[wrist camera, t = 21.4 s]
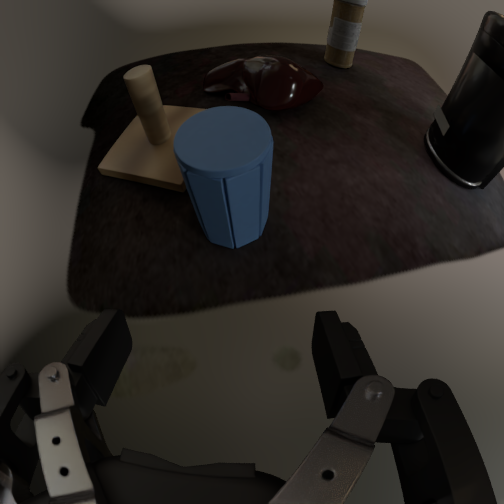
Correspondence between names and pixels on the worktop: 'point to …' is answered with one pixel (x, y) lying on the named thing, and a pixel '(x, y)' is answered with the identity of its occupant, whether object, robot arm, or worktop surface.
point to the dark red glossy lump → (264, 82)
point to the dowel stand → (148, 137)
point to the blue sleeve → (227, 172)
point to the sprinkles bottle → (344, 32)
